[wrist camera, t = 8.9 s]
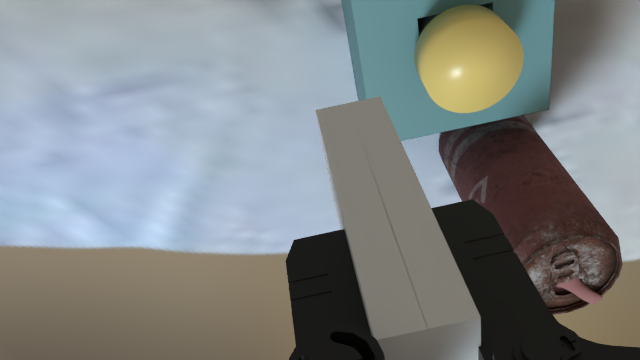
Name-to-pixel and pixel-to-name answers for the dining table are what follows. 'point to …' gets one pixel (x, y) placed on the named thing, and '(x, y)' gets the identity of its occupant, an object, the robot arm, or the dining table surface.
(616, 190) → the dining table surface
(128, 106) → the dining table surface
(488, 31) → the plunger
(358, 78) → the mount
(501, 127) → the can
